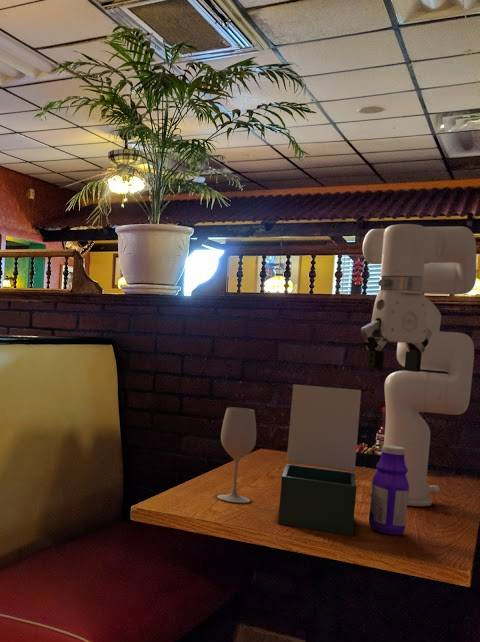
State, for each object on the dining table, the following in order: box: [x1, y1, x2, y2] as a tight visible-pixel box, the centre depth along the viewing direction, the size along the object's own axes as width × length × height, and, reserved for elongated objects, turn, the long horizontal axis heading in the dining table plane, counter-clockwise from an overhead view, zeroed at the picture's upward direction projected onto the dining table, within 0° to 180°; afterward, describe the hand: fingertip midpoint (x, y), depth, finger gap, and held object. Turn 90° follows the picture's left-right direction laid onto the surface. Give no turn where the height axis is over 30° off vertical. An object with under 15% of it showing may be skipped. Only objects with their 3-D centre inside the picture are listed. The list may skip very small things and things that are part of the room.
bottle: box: [368, 444, 409, 536], centre depth 151 cm, size 7×6×17 cm
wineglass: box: [216, 406, 257, 504], centre depth 172 cm, size 8×8×21 cm
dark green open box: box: [277, 463, 357, 536], centre depth 157 cm, size 17×14×10 cm
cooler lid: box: [286, 384, 362, 472], centre depth 165 cm, size 18×14×1 cm
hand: (393, 370), depth 152 cm, fingers open, 9 cm apart
